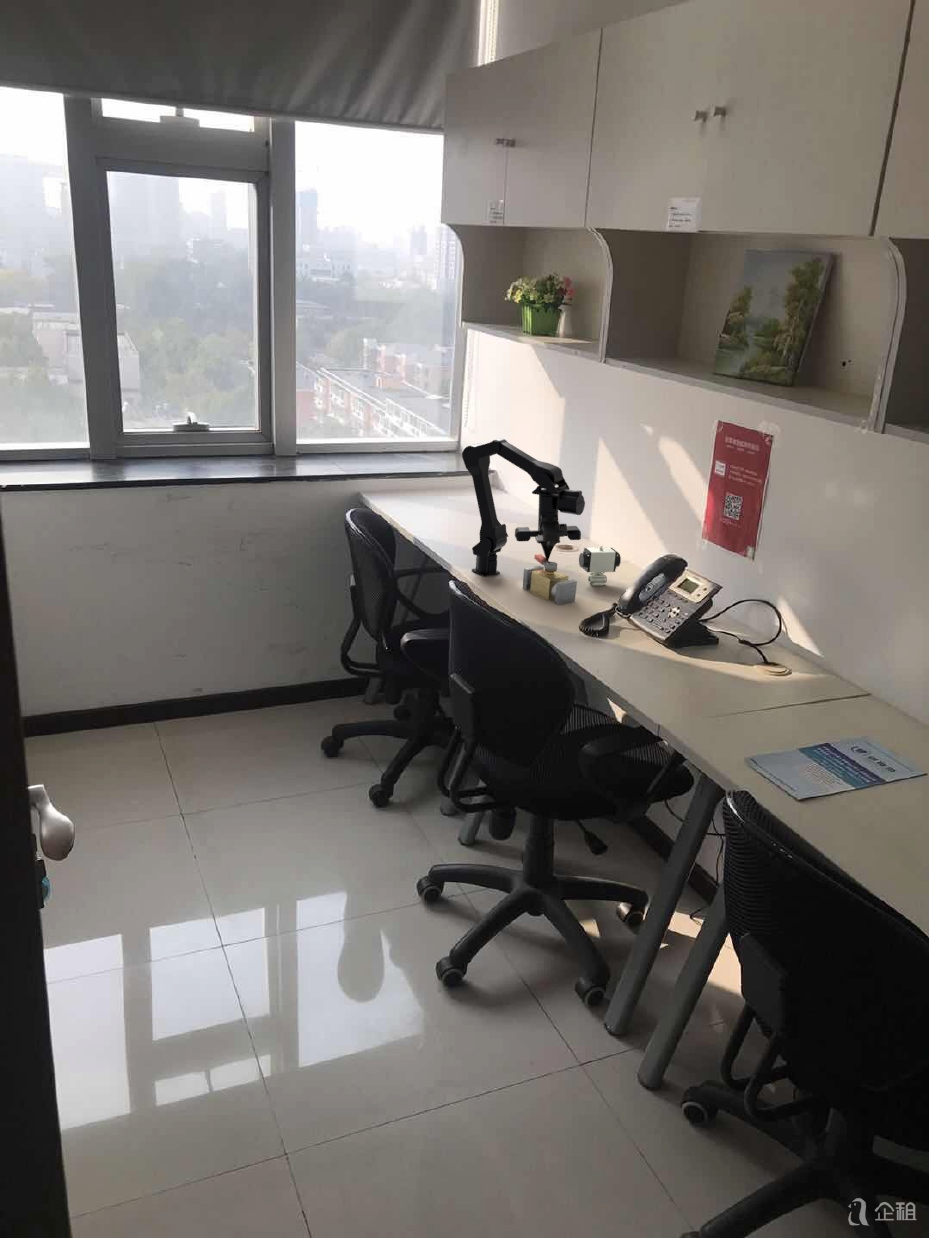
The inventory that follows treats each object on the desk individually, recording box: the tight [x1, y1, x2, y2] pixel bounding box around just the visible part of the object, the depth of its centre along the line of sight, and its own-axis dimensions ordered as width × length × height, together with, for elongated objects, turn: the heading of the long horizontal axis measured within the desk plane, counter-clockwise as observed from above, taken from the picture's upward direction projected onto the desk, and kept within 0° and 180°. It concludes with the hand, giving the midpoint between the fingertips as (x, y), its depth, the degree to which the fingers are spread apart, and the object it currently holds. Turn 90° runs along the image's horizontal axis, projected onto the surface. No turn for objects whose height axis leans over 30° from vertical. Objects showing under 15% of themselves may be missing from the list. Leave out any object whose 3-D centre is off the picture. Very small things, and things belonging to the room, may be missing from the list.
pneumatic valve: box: [578, 545, 622, 587], centre depth 294 cm, size 6×12×12 cm, turn 104°
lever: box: [534, 554, 558, 572], centre depth 285 cm, size 12×4×2 cm, turn 18°
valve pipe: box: [522, 565, 578, 606], centre depth 283 cm, size 16×7×7 cm, turn 36°
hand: (546, 561), depth 289 cm, fingers closed
